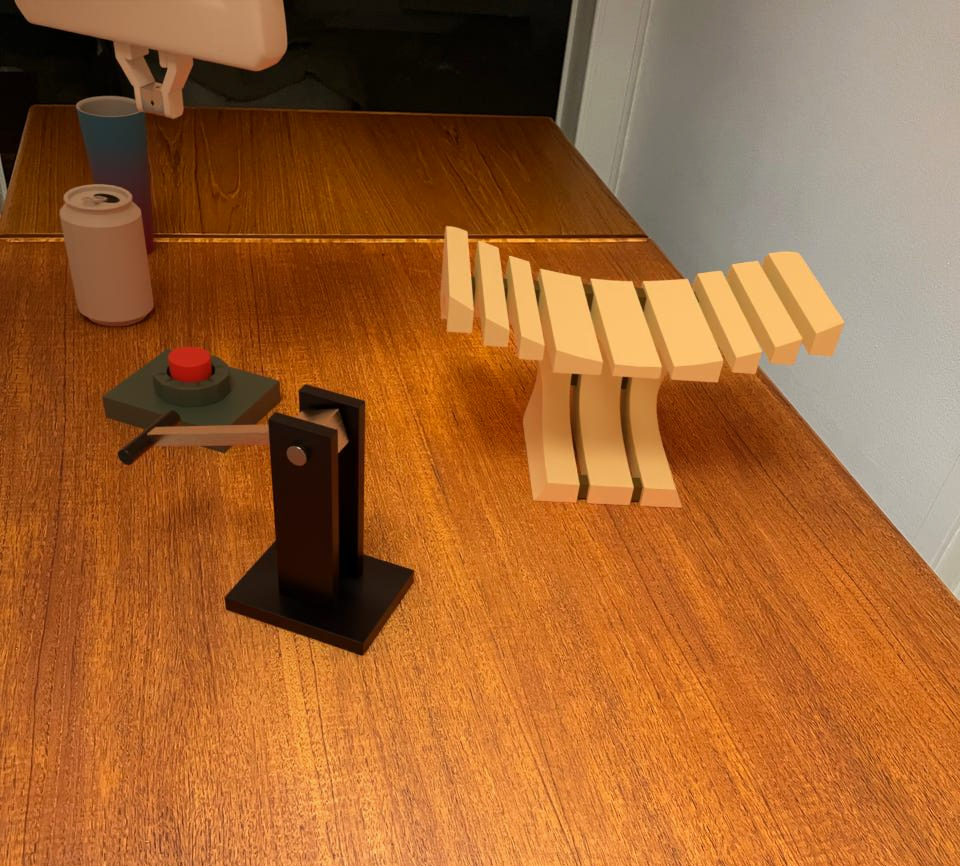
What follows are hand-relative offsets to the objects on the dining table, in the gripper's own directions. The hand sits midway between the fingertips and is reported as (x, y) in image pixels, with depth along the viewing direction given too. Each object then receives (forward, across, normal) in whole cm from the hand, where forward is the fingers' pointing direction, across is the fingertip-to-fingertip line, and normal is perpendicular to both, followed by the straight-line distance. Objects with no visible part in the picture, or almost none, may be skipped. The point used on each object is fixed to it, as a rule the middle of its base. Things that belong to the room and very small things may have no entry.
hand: (160, 113), depth 75 cm
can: (+25, +17, -12) cm, 33 cm away
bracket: (+25, -22, +18) cm, 38 cm away
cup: (+25, +25, -26) cm, 44 cm away
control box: (+25, 0, 0) cm, 25 cm away
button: (+22, 0, 0) cm, 22 cm away
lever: (+14, -16, +18) cm, 28 cm away
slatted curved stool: (+25, -35, -11) cm, 45 cm away
